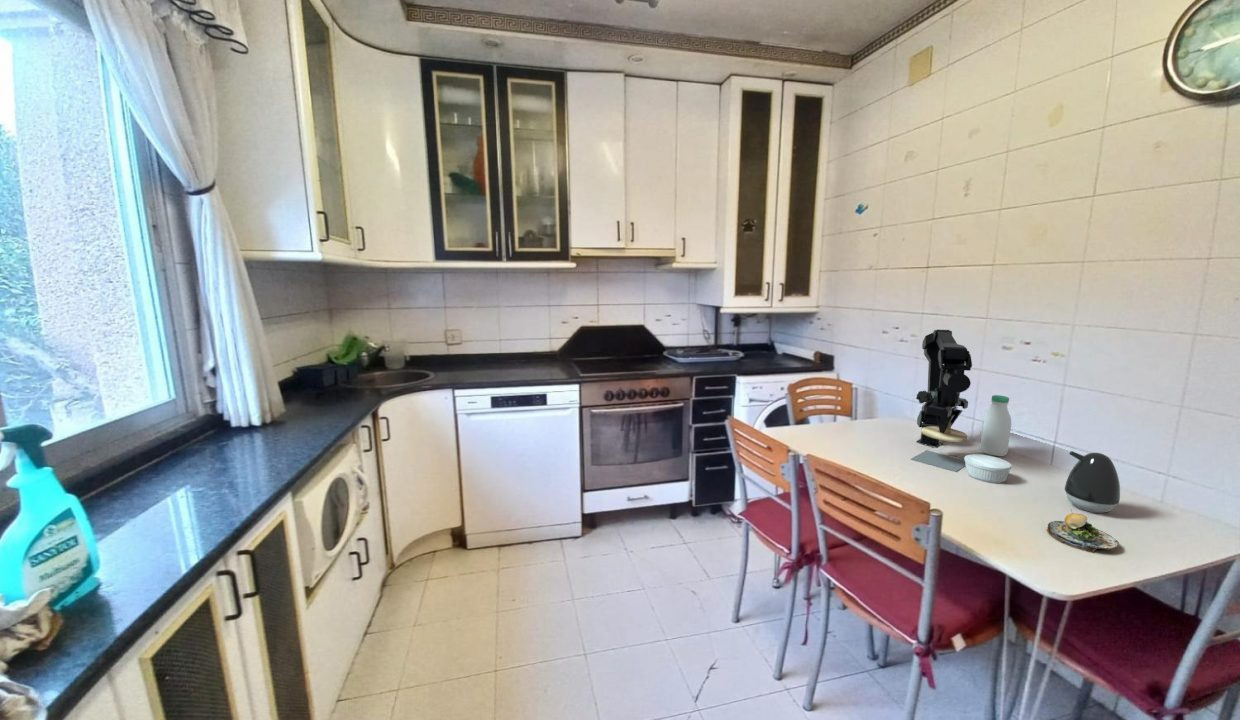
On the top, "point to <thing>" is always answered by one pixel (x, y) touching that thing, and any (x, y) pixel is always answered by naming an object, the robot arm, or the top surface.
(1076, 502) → the pump dispenser
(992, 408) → the milk bottle
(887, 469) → the top surface
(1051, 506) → the top surface
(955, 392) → the robot arm
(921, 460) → the mat
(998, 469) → the ramekin
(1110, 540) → the oval plate with food
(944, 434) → the lid
